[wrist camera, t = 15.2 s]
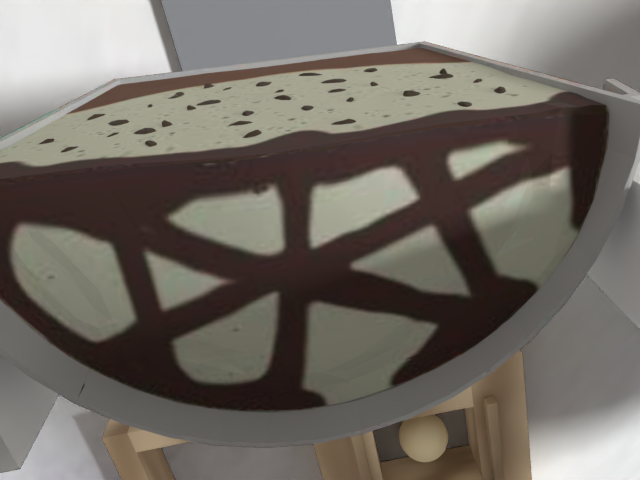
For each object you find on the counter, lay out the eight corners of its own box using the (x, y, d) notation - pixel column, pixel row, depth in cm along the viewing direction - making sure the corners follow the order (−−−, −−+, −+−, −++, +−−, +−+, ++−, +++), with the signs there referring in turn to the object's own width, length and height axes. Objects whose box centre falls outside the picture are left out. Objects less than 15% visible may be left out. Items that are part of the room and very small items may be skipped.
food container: (115, 268, 20) (-11, 514, 11) (63, 85, 17) (-158, 206, 8) (472, 222, 20) (638, 422, 11) (473, 35, 18) (687, 100, 9)
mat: (370, -122, 25) (372, -123, 25) (420, 217, 32) (422, 221, 31) (143, -68, 26) (140, -69, 25) (240, 255, 32) (239, 260, 32)
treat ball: (438, 396, 37) (450, 431, 35) (444, 432, 38) (456, 467, 36) (391, 406, 37) (400, 440, 35) (399, 441, 39) (407, 477, 36)
